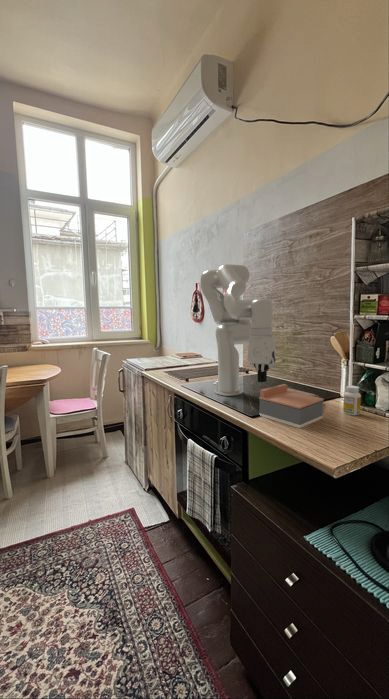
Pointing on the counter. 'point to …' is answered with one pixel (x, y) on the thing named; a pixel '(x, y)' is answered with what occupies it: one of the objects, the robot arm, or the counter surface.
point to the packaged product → (303, 393)
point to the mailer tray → (291, 413)
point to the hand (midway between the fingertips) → (262, 381)
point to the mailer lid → (287, 397)
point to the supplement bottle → (352, 401)
